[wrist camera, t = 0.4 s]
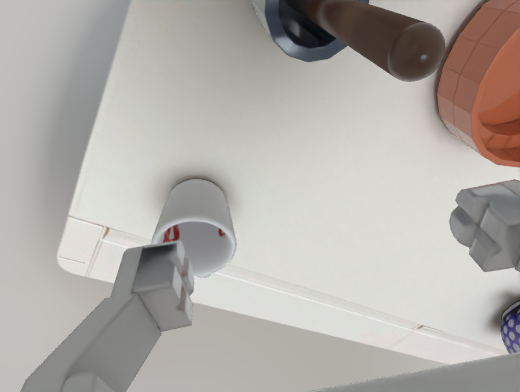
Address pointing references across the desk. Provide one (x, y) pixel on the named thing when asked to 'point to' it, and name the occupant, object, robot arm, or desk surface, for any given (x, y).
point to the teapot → (511, 328)
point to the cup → (198, 225)
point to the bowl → (485, 83)
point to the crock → (296, 31)
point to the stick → (379, 35)
